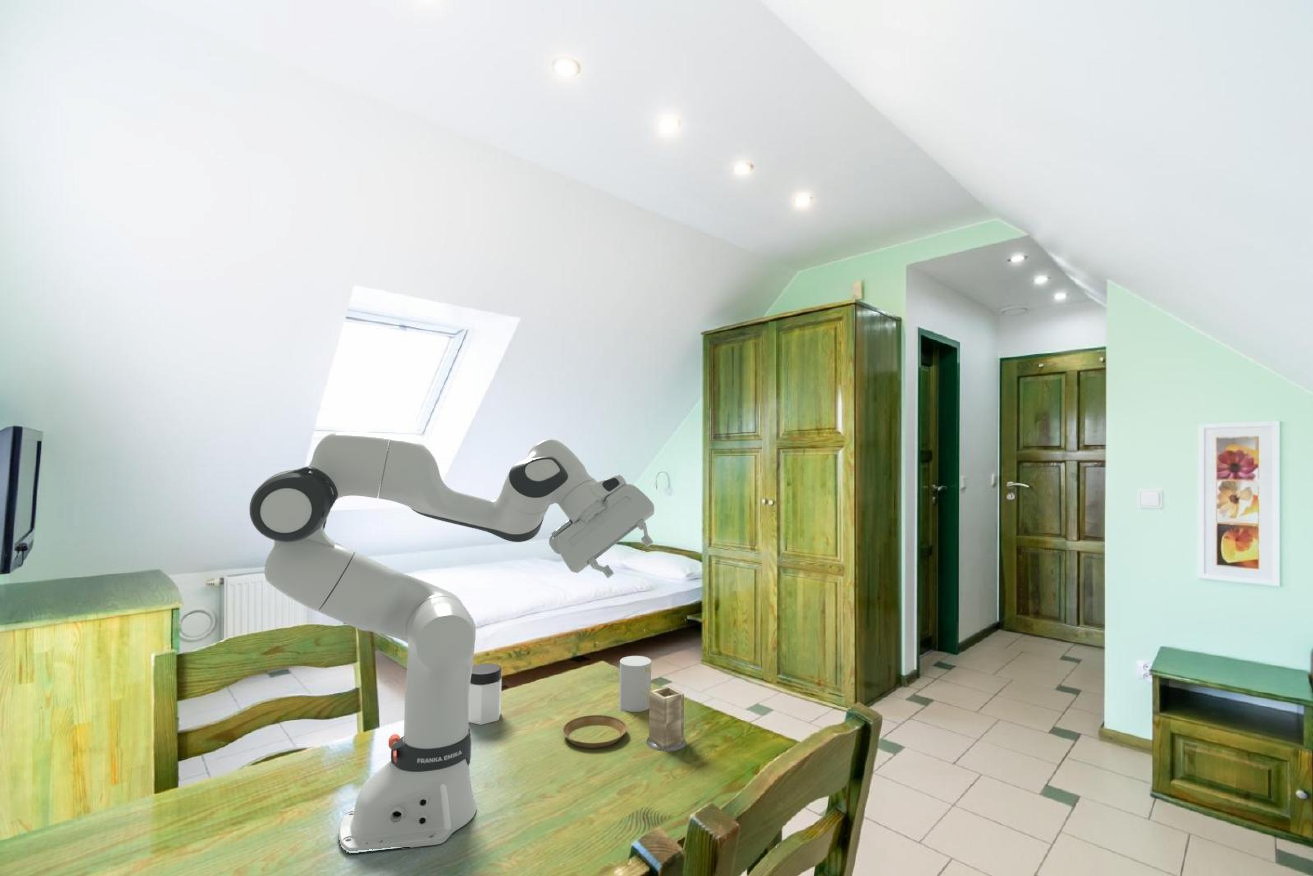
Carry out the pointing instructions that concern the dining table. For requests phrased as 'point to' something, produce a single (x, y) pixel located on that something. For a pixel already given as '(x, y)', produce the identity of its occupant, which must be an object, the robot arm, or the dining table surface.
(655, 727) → the vase
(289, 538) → the robot arm
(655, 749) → the metal lid
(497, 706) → the jar
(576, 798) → the dining table surface
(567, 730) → the plant saucer
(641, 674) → the white cylinder
